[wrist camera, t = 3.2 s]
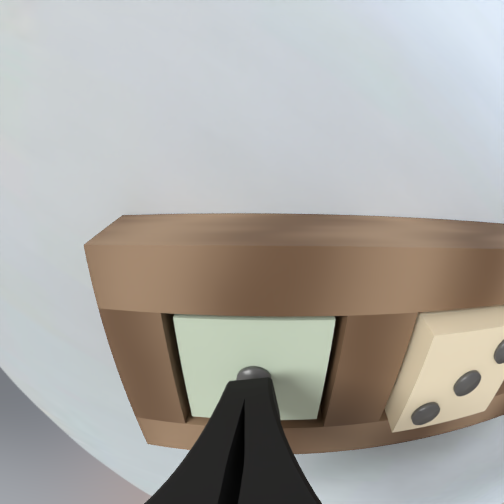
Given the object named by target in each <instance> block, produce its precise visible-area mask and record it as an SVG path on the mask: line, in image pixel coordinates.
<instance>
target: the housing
mask: <svg viewBox="0 0 504 504" xmlns="http://www.w3.org/2000/svg"><path fill="white" fill-rule="evenodd" d="M84 249H85V254H86V259H87V263H88V268H89V272H90V277H91V281H92V285H93V289H94V293H95V297H96V301H97V305H98V308H99V312H100V316H101V319H102V323H103V326H104V329H105V333H106V336H107V339H108V343H109V346H110V349H111V352H112V355H113V358H114V361H115V364H116V367H117V370H118V372H119V375H120V378H121V381H122V383H123V386H124V389H125V391H126V394H127V397H128V399H129V402H130V404H131V407H132V409H133V411H134V414H135V416H136V419H137V421H138V423H139V426H140V428H141V430H142V432H143V435H144V437H145V439H146V441H147V443H148V444H151V445H158V446H164V447H171V448H179V449H187V450H191V448H192V447H193V445H194V444H195V442H196V441H197V439H198V438H199V436H200V434H201V433H202V431H203V429H204V428H205V426H206V424H207V422H208V421H209V419H210V418H207V417H195V416H192V413H191V408H190V404H189V399H188V395H187V390H186V385H185V380H184V375H183V370H182V365H181V360H180V355H179V349H178V344H177V338H176V332H175V327H174V320H173V316H174V314H191V315H217V316H266V317H305V316H335V327H334V333H333V339H332V345H331V351H330V356H329V362H328V367H327V372H326V377H325V382H324V387H323V392H322V397H321V402H320V406H319V411H318V415H317V419H305V420H281V425H282V428H283V430H284V433H285V436H286V438H287V440H288V443H289V445H290V447H291V449H292V452H293V454H308V453H324V452H337V451H347V450H356V449H364V448H371V447H378V446H385V445H391V444H396V443H402V442H407V441H412V440H417V439H422V438H426V437H430V436H435V435H439V434H443V433H447V432H450V431H454V430H458V429H461V428H465V427H468V426H471V425H474V424H478V423H481V422H484V421H487V420H490V419H493V418H496V417H498V416H501V415H504V380H503V382H502V384H501V386H500V387H499V389H498V391H497V393H496V394H495V396H494V397H493V399H492V401H491V402H490V404H489V405H488V407H487V409H486V410H485V411H483V412H480V413H476V414H473V415H470V416H466V417H462V418H459V419H455V420H451V421H447V422H443V423H439V424H434V425H430V426H425V427H420V428H415V429H410V430H405V431H399V432H393V433H392V431H391V427H390V424H389V421H388V418H387V415H386V412H385V409H384V408H385V406H386V403H387V401H388V398H389V396H390V394H391V391H392V388H393V386H394V383H395V381H396V378H397V375H398V373H399V370H400V367H401V364H402V362H403V359H404V356H405V353H406V350H407V347H408V344H409V341H410V338H411V334H412V331H413V328H414V325H415V321H416V318H417V314H418V312H431V311H444V310H456V309H467V308H477V307H487V306H496V305H504V224H500V223H487V222H474V221H459V220H443V219H426V218H407V217H385V216H358V215H323V214H155V215H122V216H121V217H120V218H118V219H117V220H116V221H114V222H113V223H112V224H110V225H109V226H108V227H106V228H105V229H104V230H102V231H101V232H100V233H98V234H97V235H96V236H95V237H93V238H92V239H91V240H89V241H88V242H87V243H86V244H84Z"/></svg>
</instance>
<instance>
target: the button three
mask: <svg viewBox="0 0 504 504" xmlns="http://www.w3.org/2000/svg"><path fill="white" fill-rule="evenodd" d="M503 380H504V305H496V306H487V307H477V308H467V309H456V310H444V311H431V312H418V314H417V318H416V321H415V325H414V328H413V331H412V334H411V338H410V341H409V344H408V347H407V350H406V353H405V356H404V359H403V362H402V364H401V367H400V370H399V373H398V375H397V378H396V381H395V383H394V386H393V388H392V391H391V394H390V396H389V398H388V401H387V403H386V406H385V408H384V409H385V412H386V415H387V418H388V421H389V424H390V427H391V431H392V433H393V432H399V431H405V430H410V429H415V428H420V427H425V426H430V425H434V424H439V423H443V422H447V421H451V420H455V419H459V418H462V417H466V416H470V415H473V414H476V413H480V412H483V411H485V410H486V409H487V407H488V405H489V404H490V402H491V401H492V399H493V397H494V396H495V394H496V393H497V391H498V389H499V387H500V386H501V384H502V382H503Z"/></svg>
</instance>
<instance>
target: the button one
mask: <svg viewBox="0 0 504 504" xmlns="http://www.w3.org/2000/svg"><path fill="white" fill-rule="evenodd" d="M173 320H174V327H175V332H176V338H177V344H178V349H179V355H180V360H181V365H182V370H183V375H184V380H185V385H186V390H187V395H188V399H189V404H190V408H191V413H192V416H195V417H207V418H210V417H211V415H212V413H213V412H214V410H215V408H216V406H217V404H218V402H219V400H220V398H221V396H222V393H223V391H224V389H225V387H226V385H227V383H228V382H229V381H234V380H246V379H256V378H265V377H269V378H271V379H272V380H273V385H274V389H275V394H276V398H277V403H278V407H279V412H280V419H281V420H305V419H317V415H318V411H319V406H320V402H321V397H322V392H323V387H324V382H325V377H326V372H327V367H328V362H329V356H330V351H331V345H332V339H333V333H334V327H335V316H305V317H266V316H217V315H191V314H174V316H173Z"/></svg>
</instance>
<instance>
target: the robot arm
mask: <svg viewBox="0 0 504 504" xmlns="http://www.w3.org/2000/svg"><path fill="white" fill-rule="evenodd" d="M144 504H322V503H321V502H320V500H319V499H318V497H317V496H316V494H315V492H314V491H313V489H312V487H311V486H310V484H309V482H308V481H307V479H306V477H305V475H304V473H303V472H302V470H301V468H300V466H299V464H298V462H297V460H296V458H295V456H294V454H293V452H292V449H291V447H290V445H289V443H288V440H287V438H286V436H285V433H284V430H283V428H282V425H281V419H280V412H279V407H278V403H277V398H276V394H275V389H274V385H273V380H272V379H271V378H269V377H265V378H256V379H246V380H234V381H229V382H228V383H227V385H226V387H225V389H224V391H223V393H222V396H221V398H220V400H219V402H218V404H217V406H216V408H215V410H214V412H213V413H212V415H211V417H210V419H209V421H208V422H207V424H206V426H205V428H204V429H203V431H202V433H201V434H200V436H199V438H198V439H197V441H196V442H195V444H194V445H193V447H192V448H191V450H190V451H189V453H188V454H187V456H186V457H185V458H184V460H183V461H182V462H181V464H180V465H179V466H178V468H177V469H176V470H175V471H174V473H173V474H172V475H171V476H170V477H169V479H168V480H167V481H166V482H165V483H164V484H163V485H162V486H161V487H160V488H159V490H158V491H157V492H156V493H155V494H154V495H153V496H152V497H151V498H150V499H149V500H148V501H147V502H146V503H144Z"/></svg>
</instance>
